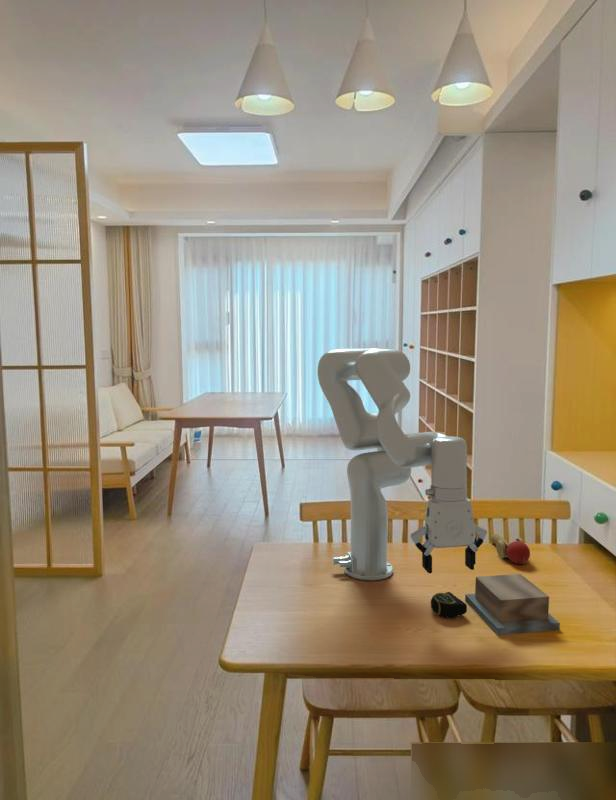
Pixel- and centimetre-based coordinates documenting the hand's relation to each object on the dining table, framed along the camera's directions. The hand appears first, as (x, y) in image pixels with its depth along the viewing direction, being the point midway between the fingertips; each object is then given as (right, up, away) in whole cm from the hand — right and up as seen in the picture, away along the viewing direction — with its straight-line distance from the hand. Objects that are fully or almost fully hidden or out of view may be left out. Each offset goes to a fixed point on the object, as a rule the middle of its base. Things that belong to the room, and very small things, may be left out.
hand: (448, 569), depth 129 cm
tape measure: (0, -11, +2) cm, 11 cm away
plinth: (+14, -10, +1) cm, 17 cm away
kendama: (+25, -7, +37) cm, 45 cm away
